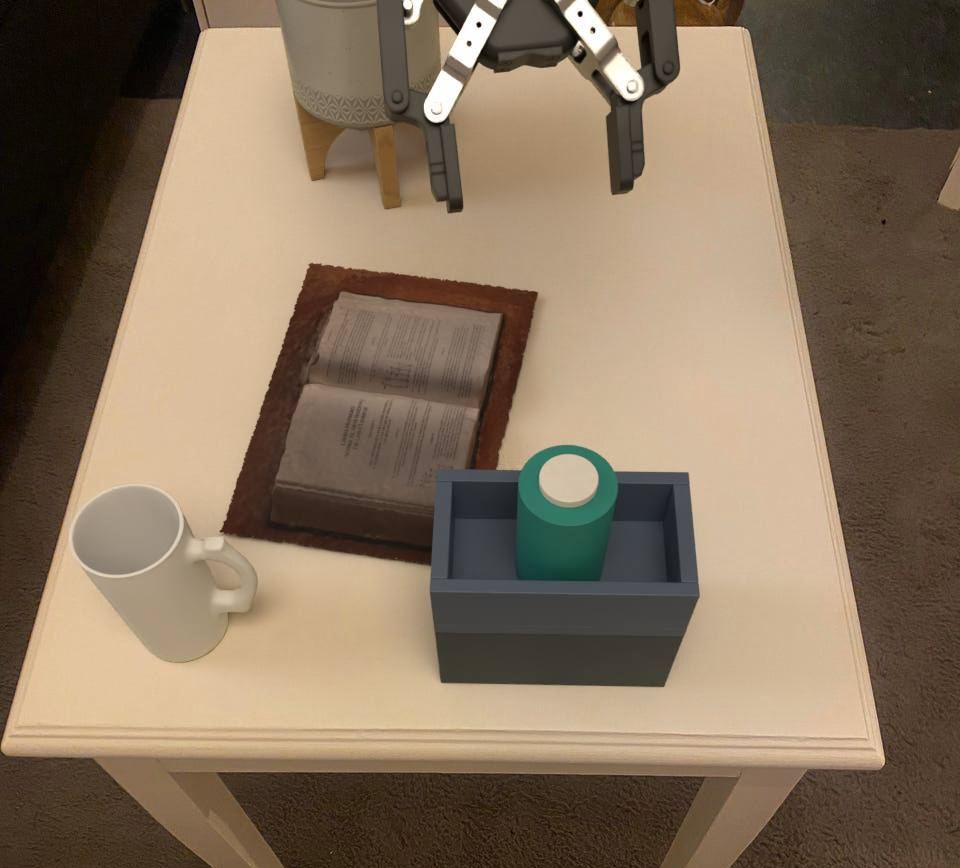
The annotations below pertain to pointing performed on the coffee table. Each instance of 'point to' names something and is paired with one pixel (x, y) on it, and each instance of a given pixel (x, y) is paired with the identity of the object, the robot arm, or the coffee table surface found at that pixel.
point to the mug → (158, 570)
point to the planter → (350, 77)
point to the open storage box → (561, 588)
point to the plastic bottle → (564, 514)
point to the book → (379, 409)
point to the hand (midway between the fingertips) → (539, 201)
